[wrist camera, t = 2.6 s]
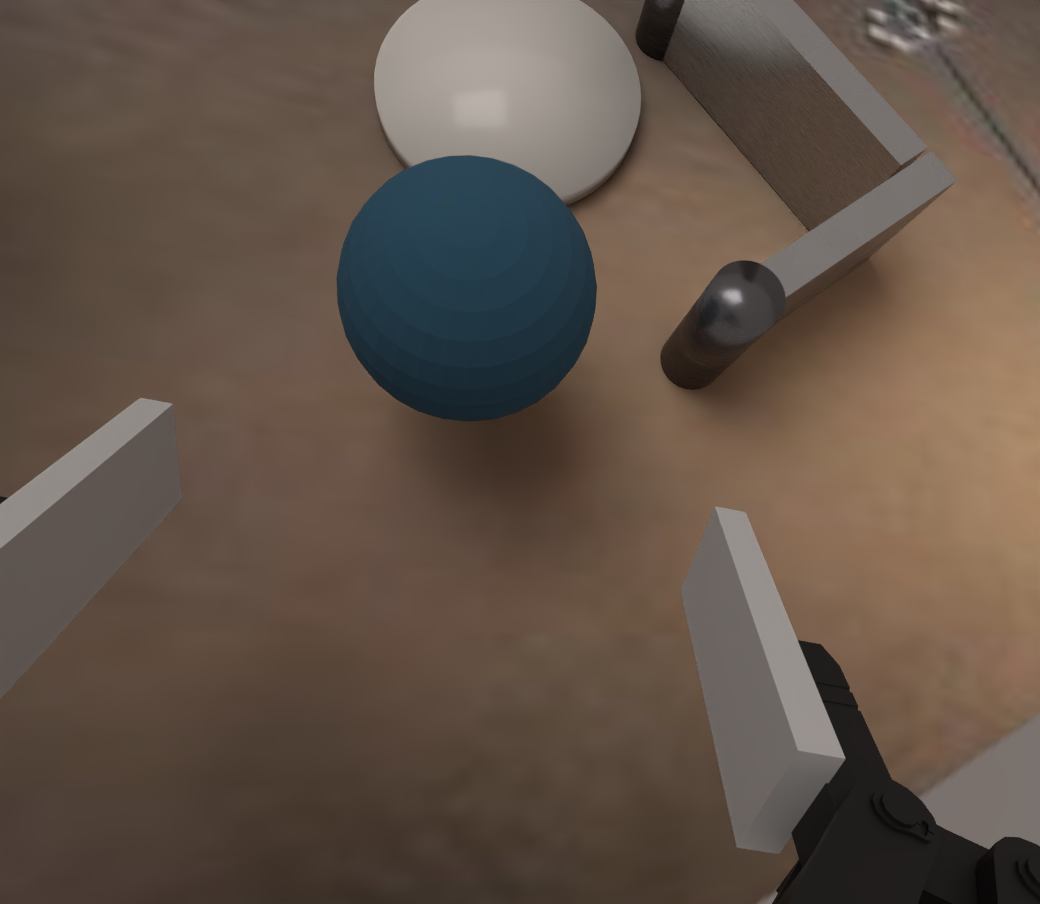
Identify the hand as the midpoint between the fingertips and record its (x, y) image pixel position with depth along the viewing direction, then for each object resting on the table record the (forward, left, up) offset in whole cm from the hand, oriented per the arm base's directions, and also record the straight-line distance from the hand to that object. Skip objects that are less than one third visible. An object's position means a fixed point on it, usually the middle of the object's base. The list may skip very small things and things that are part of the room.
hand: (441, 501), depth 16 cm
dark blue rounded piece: (-6, +5, -12) cm, 14 cm away
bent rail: (-8, +19, -12) cm, 23 cm away
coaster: (-17, +15, -12) cm, 25 cm away
